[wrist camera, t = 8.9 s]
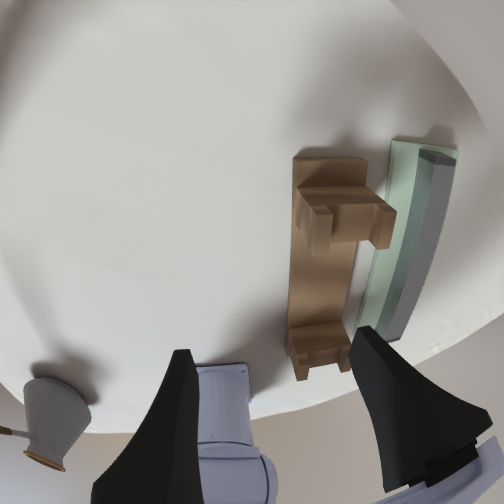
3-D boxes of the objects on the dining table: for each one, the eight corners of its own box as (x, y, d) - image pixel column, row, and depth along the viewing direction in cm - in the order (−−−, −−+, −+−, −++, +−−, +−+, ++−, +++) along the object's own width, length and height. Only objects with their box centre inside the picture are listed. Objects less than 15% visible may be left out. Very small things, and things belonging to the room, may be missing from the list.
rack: (330, 341, 28) (345, 380, 24) (285, 348, 28) (295, 390, 23) (361, 158, 18) (402, 182, 13) (292, 157, 17) (318, 182, 13)
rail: (392, 327, 27) (399, 339, 26) (374, 331, 27) (381, 344, 26) (440, 151, 17) (456, 159, 15) (419, 149, 17) (435, 156, 15)
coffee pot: (107, 411, 34) (97, 495, 21) (56, 405, 33) (41, 477, 21) (25, 316, 22) (-23, 431, 9) (-22, 317, 22) (-63, 404, 9)
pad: (404, 321, 28) (406, 325, 28) (352, 334, 28) (354, 338, 27) (453, 148, 18) (458, 150, 17) (391, 139, 17) (396, 141, 17)
